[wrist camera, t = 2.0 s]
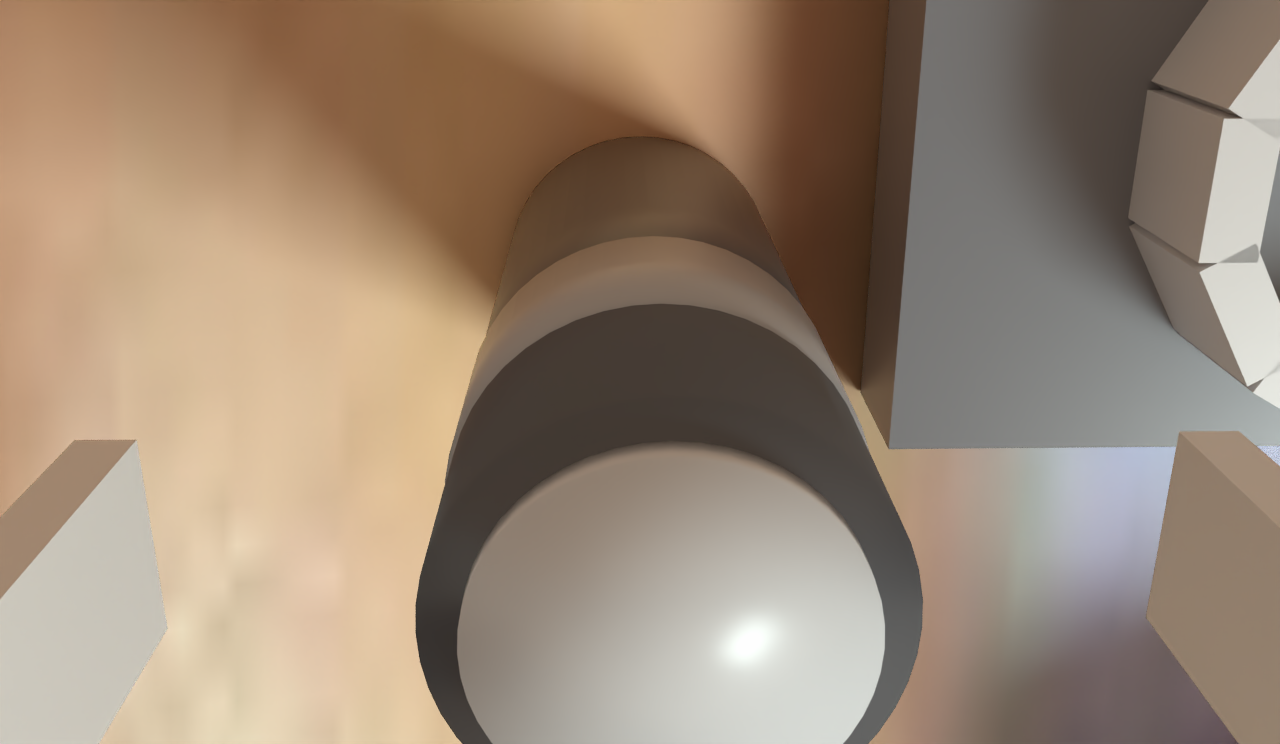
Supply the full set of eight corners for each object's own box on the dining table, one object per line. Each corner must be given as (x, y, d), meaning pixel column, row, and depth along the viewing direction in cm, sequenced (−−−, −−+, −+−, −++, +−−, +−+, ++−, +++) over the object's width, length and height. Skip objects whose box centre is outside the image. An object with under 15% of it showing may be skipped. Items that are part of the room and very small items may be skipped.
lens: (513, 388, 28) (422, 862, 14) (503, 134, 25) (385, 409, 12) (766, 386, 28) (913, 855, 14) (777, 133, 26) (960, 405, 12)
